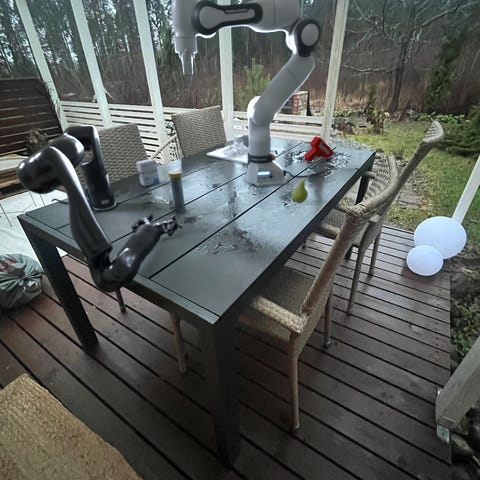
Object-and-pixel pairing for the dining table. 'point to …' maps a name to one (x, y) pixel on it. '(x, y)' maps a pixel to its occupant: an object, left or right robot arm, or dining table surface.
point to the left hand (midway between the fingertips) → (163, 216)
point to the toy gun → (318, 150)
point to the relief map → (232, 153)
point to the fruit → (300, 192)
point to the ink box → (147, 172)
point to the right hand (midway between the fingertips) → (189, 86)
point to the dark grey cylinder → (178, 195)
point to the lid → (175, 173)
